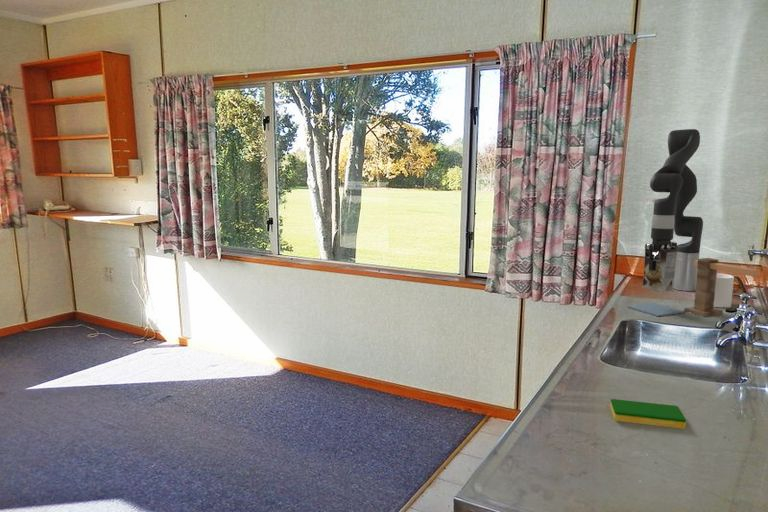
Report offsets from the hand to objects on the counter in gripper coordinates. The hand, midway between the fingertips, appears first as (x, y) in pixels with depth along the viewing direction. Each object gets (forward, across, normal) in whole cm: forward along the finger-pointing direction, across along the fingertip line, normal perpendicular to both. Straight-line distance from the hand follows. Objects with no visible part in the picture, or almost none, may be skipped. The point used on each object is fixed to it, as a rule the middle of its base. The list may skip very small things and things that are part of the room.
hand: (659, 269), depth 198 cm
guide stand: (+16, +14, -9) cm, 23 cm away
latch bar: (-1, +14, -16) cm, 21 cm away
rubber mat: (+16, 0, 0) cm, 16 cm away
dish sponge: (+17, -76, -65) cm, 101 cm away
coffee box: (+8, 0, 0) cm, 8 cm away
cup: (+16, +29, -2) cm, 33 cm away
